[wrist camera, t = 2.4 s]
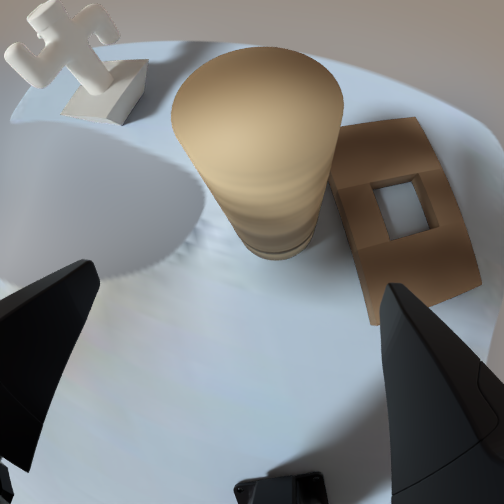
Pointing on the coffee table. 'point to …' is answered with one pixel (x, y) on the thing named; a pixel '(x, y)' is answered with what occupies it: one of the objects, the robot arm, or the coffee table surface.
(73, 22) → the figurine
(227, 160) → the oak peg
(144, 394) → the coffee table surface
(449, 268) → the walnut board
